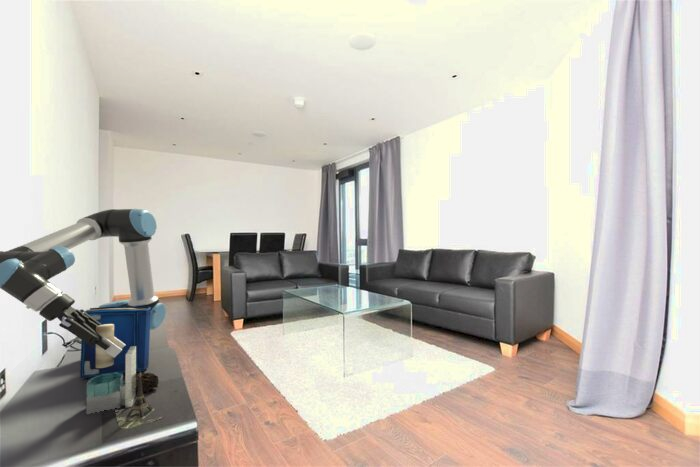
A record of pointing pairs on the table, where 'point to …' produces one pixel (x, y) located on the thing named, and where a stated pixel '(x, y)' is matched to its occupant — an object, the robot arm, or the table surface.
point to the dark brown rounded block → (147, 381)
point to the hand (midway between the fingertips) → (120, 350)
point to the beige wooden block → (101, 356)
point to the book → (128, 329)
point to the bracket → (113, 387)
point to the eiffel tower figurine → (137, 411)
